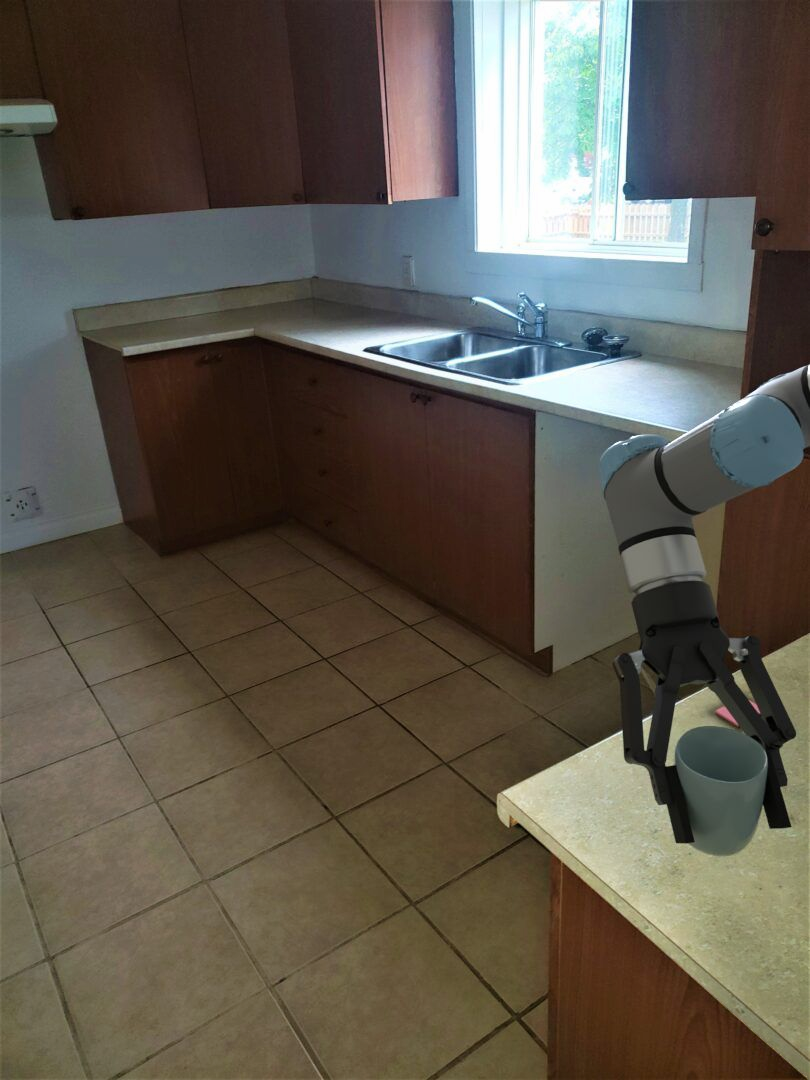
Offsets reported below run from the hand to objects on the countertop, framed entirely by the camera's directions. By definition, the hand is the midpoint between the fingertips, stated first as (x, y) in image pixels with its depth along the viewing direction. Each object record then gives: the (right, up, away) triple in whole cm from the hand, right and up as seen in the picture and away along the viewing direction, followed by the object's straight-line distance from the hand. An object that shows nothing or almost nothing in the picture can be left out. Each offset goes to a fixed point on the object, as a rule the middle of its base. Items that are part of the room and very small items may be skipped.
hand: (733, 835), depth 72 cm
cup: (0, -2, +5) cm, 5 cm away
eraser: (+12, +4, +29) cm, 31 cm away
